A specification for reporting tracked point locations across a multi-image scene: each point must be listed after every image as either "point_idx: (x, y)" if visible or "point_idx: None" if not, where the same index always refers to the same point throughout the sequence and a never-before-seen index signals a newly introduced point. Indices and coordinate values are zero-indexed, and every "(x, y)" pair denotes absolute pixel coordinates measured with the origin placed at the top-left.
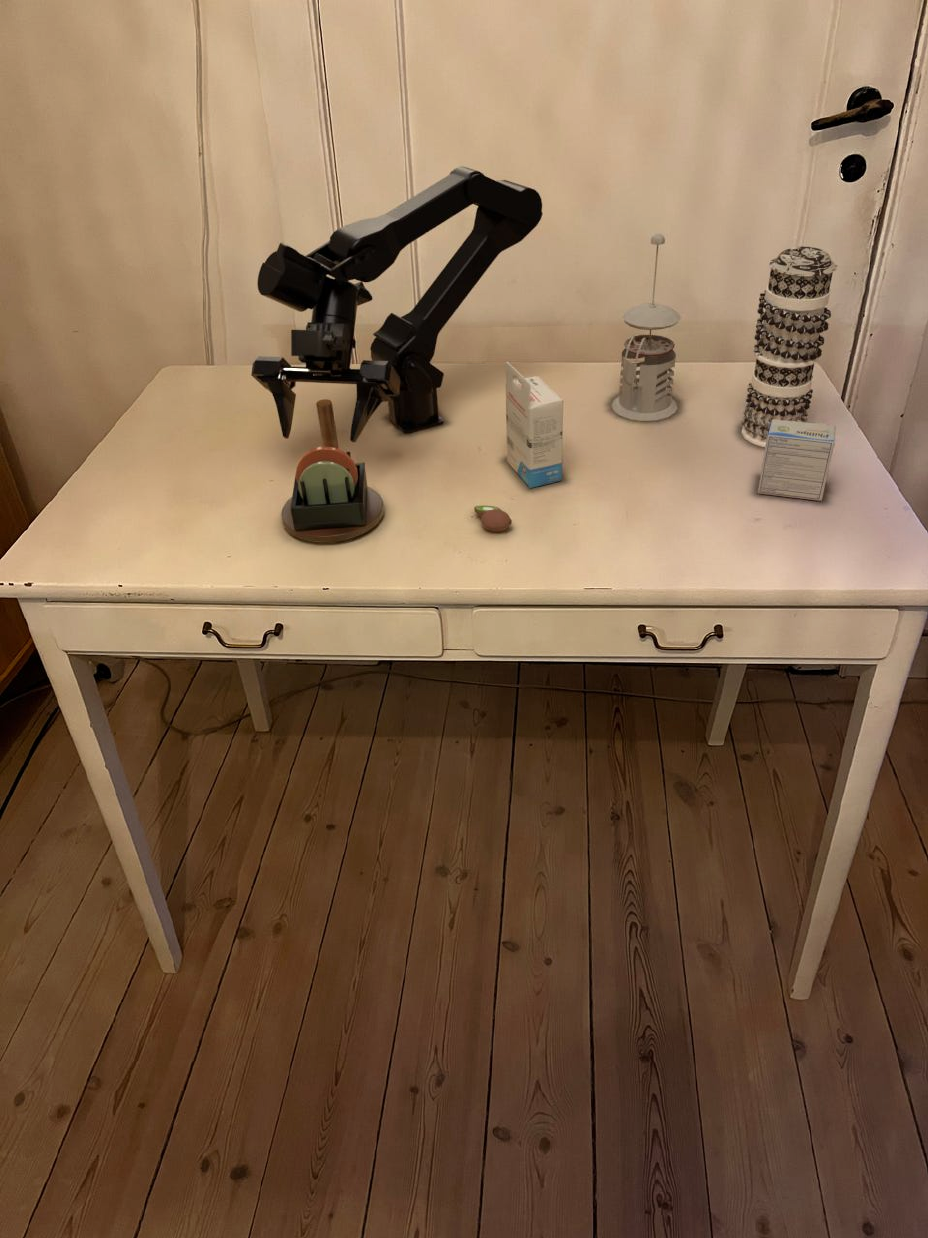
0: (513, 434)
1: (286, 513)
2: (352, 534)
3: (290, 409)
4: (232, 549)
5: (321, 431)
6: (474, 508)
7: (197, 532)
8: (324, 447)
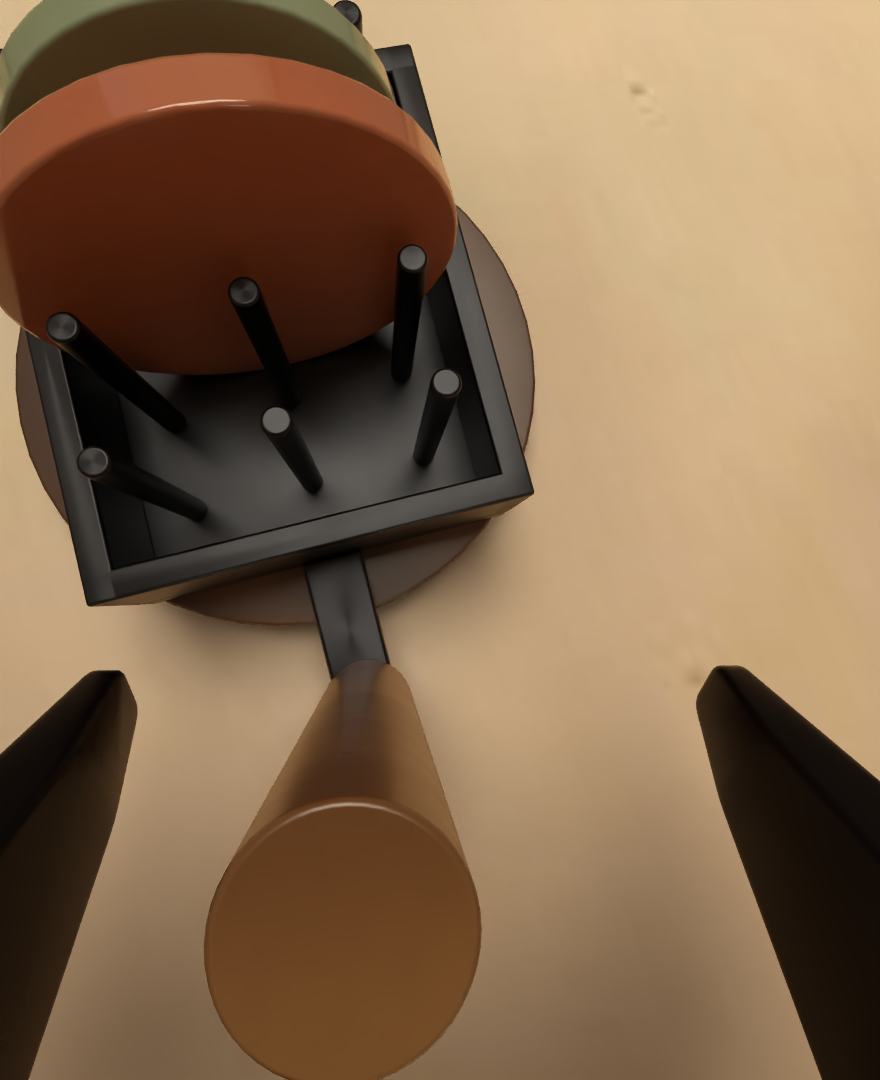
0: None
1: (497, 306)
2: None
3: (849, 1010)
4: (645, 136)
5: (409, 722)
6: None
7: (831, 242)
8: (148, 85)
